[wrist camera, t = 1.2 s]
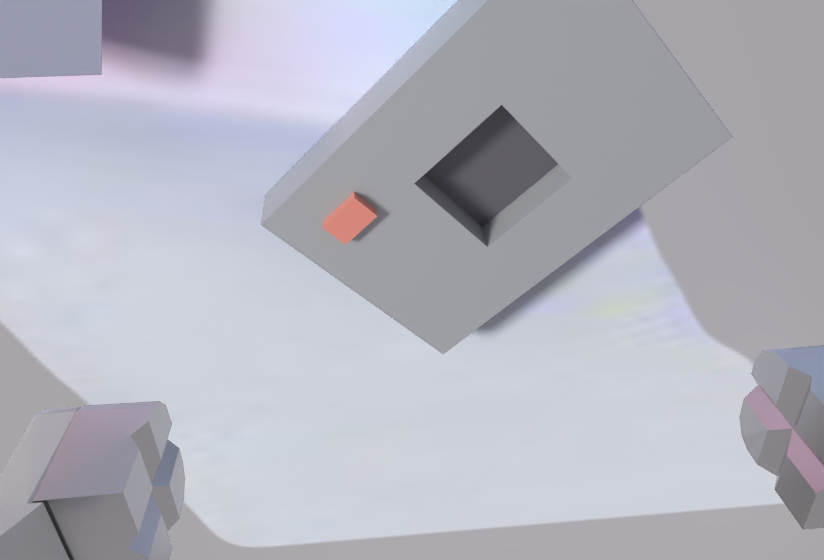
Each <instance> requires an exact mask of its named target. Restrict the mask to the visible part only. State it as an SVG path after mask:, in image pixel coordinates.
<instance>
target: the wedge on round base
mask: <svg viewBox="0 0 824 560" xmlns="http://www.w3.org/2000/svg"><path fill="white" fill-rule="evenodd" d="M101 74H102V0H0V78H18V77H47V76H76V75H101Z"/></svg>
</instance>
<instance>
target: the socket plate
mask: <svg viewBox="0 0 824 560" xmlns="http://www.w3.org/2000/svg"><path fill="white" fill-rule="evenodd" d="M731 137H732V135H731V134H730V133H729V131H728V130H727V129H726V127H725V126H724V124H723V123H722V122H721V120H720V119H719V118H718V116H717V115H716V114H715V112H714V111H713V109H712V108H711V107H710V106H709V104H708V103H707V101H706V100H705V99H704V97H703V96H702V94H701V93H700V92H699V90H698V89H697V88H696V86H695V85H694V84H693V82H692V81H691V80H690V78H689V77H688V76H687V74H686V73H685V72H684V70H683V69H682V67H681V66H680V65H679V63H678V62H677V60H676V59H675V58H674V56H673V55H672V54H671V52H670V51H669V50H668V48H667V47H666V45H665V44H664V43H663V41H662V40H661V39H660V37H659V36H658V35H657V33H656V32H655V31H654V29H653V28H652V26H651V25H650V24H649V22H648V21H647V20H646V18H645V17H644V16H643V14H642V13H641V12H640V10H639V9H638V7H637V6H636V5H635V3H634V2H633V0H458V1H457V3H456V4H455V5H454V6H453V7H452V8H451V9H450V10H449V11H448V12H447V13H446V14H445V15H444V16H443V17H442V18H441V19H440V20H439V21H438V22H437V23H436V24H435V25H434V26H433V27H432V28H431V29H430V30H429V31H428V32H427V33H426V34H425V35H424V36H423V37H422V38H421V39H420V40H419V41H418V42H417V43H416V44H415V45H414V46H413V47H412V48H411V49H410V50H409V51H408V52H407V53H406V54H405V55H404V56H403V57H402V58H401V59H400V60H399V61H398V62H397V63H396V64H395V65H394V66H393V67H392V68H391V69H390V70H389V71H388V72H387V73H386V74H385V75H384V76H383V77H382V78H381V79H380V80H379V81H378V82H377V83H376V84H375V85H374V86H373V87H372V88H371V89H370V90H369V91H368V92H367V93H366V94H365V95H364V96H363V97H362V98H361V99H360V100H359V101H358V102H357V103H356V104H355V105H354V106H353V107H352V108H351V109H350V110H349V111H348V112H347V113H346V114H345V115H344V116H343V117H342V118H341V119H340V120H339V122H338V123H337V124H336V125H335V126H334V127H333V128H332V129H331V130H330V131H329V132H328V133H327V134H326V135H325V136H324V137H323V138H322V139H321V140H320V141H319V142H318V143H317V144H316V145H315V146H314V147H313V148H312V149H311V150H310V151H309V152H308V153H307V154H306V155H305V156H304V157H303V158H302V159H301V160H300V161H299V162H298V163H297V164H296V165H295V166H294V167H293V168H292V169H291V170H290V171H289V172H288V173H287V174H286V175H285V176H284V177H283V178H282V179H281V180H280V181H279V182H278V183H277V184H276V185H275V186H274V187H273V188H272V189H271V190H270V191H269V192H268V193H267V194H266V195H265V201H264V207H263V214H262V220H261V225H262V226H263V227H265V228H266V229H268V230H269V231H270V232H272V233H273V234H275V235H276V236H277V237H279V238H280V239H282V240H283V241H284V242H286V243H287V244H289V245H290V246H291V247H293V248H294V249H296V250H297V251H298V252H300V253H301V254H303V255H304V256H306V257H307V258H308V259H310V260H311V261H313V262H314V263H315V264H317V265H318V266H320V267H321V268H322V269H324V270H325V271H327V272H328V273H329V274H331V275H332V276H334V277H335V278H336V279H338V280H339V281H341V282H342V283H344V284H345V285H346V286H348V287H349V288H351V289H352V290H353V291H355V292H356V293H358V294H359V295H360V296H362V297H363V298H365V299H366V300H367V301H369V302H370V303H372V304H373V305H375V306H376V307H377V308H379V309H380V310H382V311H383V312H384V313H386V314H387V315H389V316H390V317H391V318H393V319H394V320H396V321H397V322H398V323H400V324H401V325H403V326H404V327H405V328H407V329H408V330H410V331H411V332H413V333H414V334H415V335H417V336H418V337H420V338H421V339H422V340H424V341H425V342H427V343H428V344H429V345H431V346H432V347H434V348H435V349H436V350H438V351H439V352H441V353H442V354H444V353H445V352H447V351H448V350H449V349H451V348H452V347H453V346H455V345H456V344H457V343H459V342H460V341H461V340H463V339H464V338H465V337H467V336H468V335H469V334H471V333H472V332H473V331H475V330H476V329H477V328H479V327H480V326H481V325H483V324H484V323H485V322H487V321H488V320H489V319H491V318H492V317H493V316H495V315H496V314H497V313H499V312H500V311H501V310H503V309H504V308H505V307H507V306H508V305H509V304H511V303H512V302H513V301H515V300H516V299H517V298H519V297H520V296H521V295H523V294H524V293H525V292H527V291H528V290H529V289H531V288H532V287H533V286H535V285H536V284H537V283H539V282H540V281H541V280H543V279H544V278H545V277H547V276H548V275H549V274H551V273H552V272H553V271H555V270H556V269H557V268H559V267H560V266H561V265H563V264H564V263H565V262H567V261H568V260H569V259H570V258H572V257H573V256H574V255H576V254H577V253H578V252H580V251H581V250H582V249H584V248H585V247H586V246H588V245H589V244H590V243H592V242H593V241H594V240H596V239H597V238H598V237H600V236H601V235H602V234H604V233H605V232H606V231H608V230H609V229H610V228H612V227H613V226H614V225H616V224H617V223H618V222H620V221H621V220H622V219H624V218H625V217H626V216H628V215H629V214H630V213H632V212H633V211H634V210H636V209H637V208H638V207H640V206H641V205H642V204H644V203H645V202H646V201H647V200H649V199H650V198H651V197H653V196H654V195H655V194H657V193H658V192H660V191H661V190H662V189H664V188H665V187H666V186H667V185H669V184H670V183H672V182H673V181H674V180H676V179H677V178H678V177H680V176H681V175H682V174H684V173H685V172H686V171H687V170H689V169H690V168H692V167H693V166H694V165H695V164H697V163H698V162H699V161H701V160H702V159H703V158H705V157H706V156H707V155H709V154H710V153H711V152H713V151H714V150H715V149H717V148H718V147H719V146H721V145H722V144H723V143H725V142H726V141H727V140H729V139H730V138H731Z"/></svg>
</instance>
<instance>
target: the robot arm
mask: <svg viewBox="0 0 824 560" xmlns="http://www.w3.org/2000/svg"><path fill="white" fill-rule="evenodd" d="M751 374H752V376H753V378H754V379H755V381H756V382H757V384H758V386H757V387H756V388H755V389H753V390H752V391H751V392H750V393H749V394H748V395H747V396H746V397H745V398H744V400H743V405H742V409H741V413H740V425H741V433H742V437H743V440H744V442H745V445H746V447H747V450H748V451H749V453H750V454H751V456H752V457H753V459H754V460H755V462H756V463H757V465H759V466H761V467H763V468H764V469H766V470H768V471H769V472H771V473H773V474H775V475H776V476H777V477H776V484H775V491H776V492H777V493H778V495H779V496H780V498H781V499H782V501H783V502H784V503H785V505H786V506H787V508H788V509H789V510H790V512H791V513H792V515H793V516H794V517H795V519H796V520H797V522H798V523H799V525H800V526H801V527H802V529H814V528H824V345H821V346H809V347H800V348H787V349H776V350H765V351H762V353H761V354H760V355H759V356H758V357H757V358H756V360H755V363H754V366H753V370H752V373H751ZM171 425H172V422H171V419H170V416H169V413H168V410H167V407H166V405H165V404H163V403H162V402H160V401H153V402H137V403H120V404H104V405H88V406H83V407H67V408H51V409H44V410H42V411H41V412H39V413H38V414H36V415H35V416H34V418H33V419H32V421H31V423H30V425H29V427H28V428H27V430H26V432H25V434H24V435H23V437H22V439H21V440H20V442H19V444H18V446H17V448H16V449H15V451H14V453H13V455H12V457H11V458H10V460H9V462H8V463H7V465H6V467H5V469H4V471H3V472H2V474H1V476H0V560H169V559H170V555H171V551H172V545H171V542H170V539H169V536H168V532H167V531H168V530H169V528H170V527H172V526H173V524H175V523H176V522H177V521H178V520H179V519H180V515H181V510H182V506H183V501H184V487H185V475H184V466H183V460H182V457H181V453H180V449H179V448H178V447H177V446H176V445H174V444H173V443H171V442H170V441H169V440H167V439H168V435H169V432H170V429H171Z"/></svg>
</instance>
